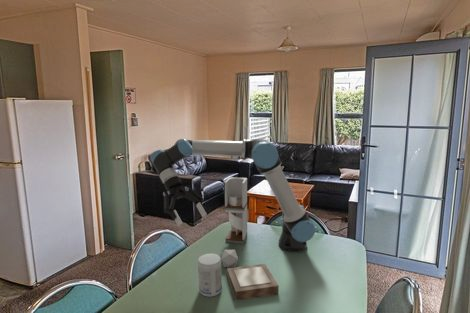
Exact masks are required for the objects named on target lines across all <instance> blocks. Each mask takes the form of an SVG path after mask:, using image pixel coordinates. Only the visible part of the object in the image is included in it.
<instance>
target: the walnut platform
mask: <svg viewBox="0 0 470 313" xmlns="http://www.w3.org/2000/svg"><path fill="white" fill-rule="evenodd" d="M226 268H227V269H226V274H227V276H226V277H227V279H228V283H229V285H230V289H231V291H232V293H233V296H234V299H235V301H244V300H251V299H258V298H265V297H271V296H277V295H279V284H278V282H277V280H276V279H275V277H274V276H273V274H272V273H271V271H270V269H269V268H268V266H267V264H266V263H261V264H260V263H259V264H251V265H245V266H237V267H236V266H235V267H226Z"/></svg>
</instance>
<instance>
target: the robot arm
mask: <svg viewBox="0 0 470 313" xmlns="http://www.w3.org/2000/svg"><path fill="white" fill-rule="evenodd" d="M188 156H221V157H223V156H224V157H226V156H229V157H242V159H248V160H249V159H251V160H252V161H253V163H254V165H255V167H256V168H257V170H258V172H259V174H262V175H263V176H264V177H265V180H266V182H267V183H268V185H269V187H270V189H271V192H272V193H273V195H274V197H275V199H276V201H277V203H278V205H279V206H280V208H281V212H282V214H281V215H282V218H281V219H282V221H281V222H282V224H281V228H282V229H281V233H280V236H279V240H278V246H279V248H281V249H282V250H284V251H287V252H293V253H294V252H302V251H304V250H306V249H307V244H308V243H307V242H308V241H310V240H312V238H313V237H314V235H315V234H316V226H315V224H314V222H313V221H311V219H310V217H309V215H308V212H307V211H306V209H305V206H304V205H302V204H299V201H298V199H297V198H296V194H294V192H293V190H292V188H291V185H290V184H289V181H288V179H287V177H286V176H285V174H284V171H283V170H282V168H281V165H282V163H283V162H282V161H281V158H280V156H279V152H278V149H277V147H276V146H275V145H274V144H273V143H271V142H269V141H268V140H266V139H264V138H252V139H245V138H244V139H243V140H240V141H238V140H237V141H236V140H235V141H234V140H207V139H206V140H202V139H201V140H200V139H199V140H197V139H186V138H180V139H178V140H176V142H175V143H174V144H173V145H172V146H171V147H169V148H168V149H167V150H164V149H157V150H155V151H153V152H152V153H151V154H150V156H149V157H150V158H149V159H150V160H151V161H150V162H151V163H152V166H153V167H154V169H155V170H156V172H157V174H158V177H159V178H160V181H161V183H162V184H163V185H164V187H165V189H166V190H164V191H163V193H162V197H163V212H164V214H167V215H170V216H171V218H172V220H174V221H175V223H176V225H177V226H178V227H181V225H183V221H182V219H181V217H180V216H179V214H178V211H177V210H176V209H174V208H175V205H176V201H177V200H179V199H182V198H183V199H186V200H189V201H190V202H192V203H193V204H195V205H196V208H197V210H198V211H199V213H200V215H201V217H202V218H203V219H205V217H206V216H207V215H208V214H207V212H206V211H205V206H204V205H203V203H202V202H203V201H204V198H203V197H202V196H201V195H200V194H198V193H197V191H195V190H194V189H193V188H192V187H191V186H190V185H189V184H187V185H186V186H183V181H182V180H181V178H180V177H179V175H178V173H177V171H176V169H175V168H174V165H176V164H177V163H179V162H180V161H182V160H183V159H185V158H186V157H188ZM170 197H171V199H170Z"/></svg>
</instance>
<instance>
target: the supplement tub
mask: <svg viewBox="0 0 470 313" xmlns="http://www.w3.org/2000/svg"><path fill="white" fill-rule="evenodd" d="M221 258H222V257H220V255H219V254H216V253H204V254H202V255H201V256H199V258H198V260H197V262H198V263H197V267H198V268H197V269H198V270H197V271H198V288H199V293H200V294H201V295H202V296H204V297H208V298H209V297H216V296H218V295H219V294H221V292H222V290H223V284H222V282H223V281H222V280H223V279H222V276H223V275H222V260H221Z"/></svg>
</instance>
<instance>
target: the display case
mask: <svg viewBox="0 0 470 313" xmlns="http://www.w3.org/2000/svg"><path fill="white" fill-rule="evenodd" d="M224 213H228V222H229V224H230V225H231V228H230V229H231V230H229V231H228V233H227V235H226V237H225V243H232V244H233V243H235V244H245V242H246V239H247V237H248V178H247V177H231V176H230V177H228V178H227V179H226V180H225V181H224Z"/></svg>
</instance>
